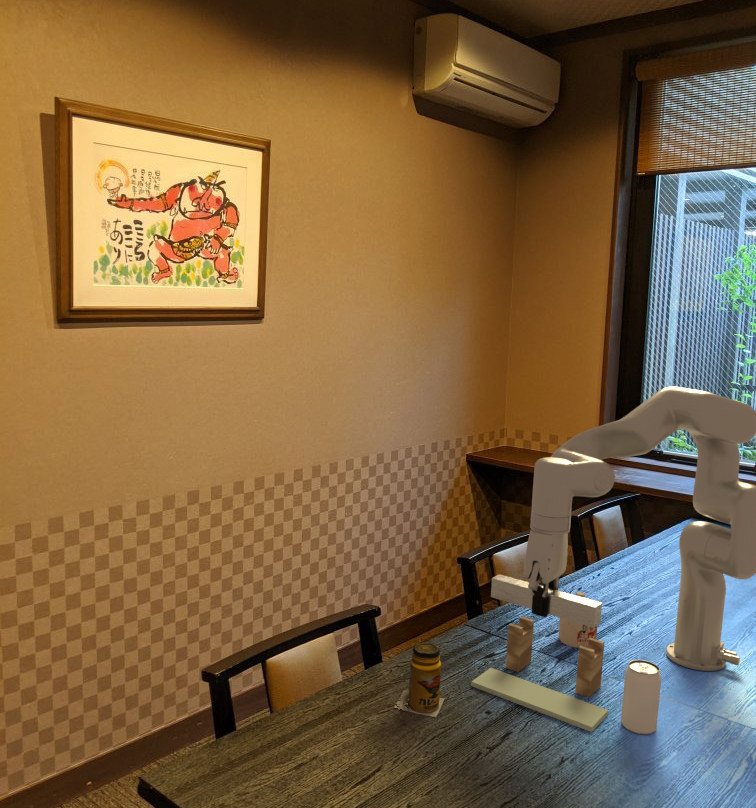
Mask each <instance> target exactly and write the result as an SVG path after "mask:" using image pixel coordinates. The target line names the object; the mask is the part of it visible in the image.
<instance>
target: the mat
mask: <svg viewBox="0 0 756 808" xmlns="http://www.w3.org/2000/svg"><path fill="white" fill-rule="evenodd" d="M470 686H471V687H473V688H475V689H478V690H481V691H483V692H486V693H488V694H491V695H494V696H496V697H499V698H501V699H504V700H506V701H509V702H512V703H514V704H517V705H519V706H522V707H525V708H528V709H530V710H533V711H536V712H538V713H540V714H543V715H545V716H548V717H551V718H554V719H557V720H558V721H562V722H564V723H567V724H570V725H572V726H574V727H578V728H580V729H582V730H585V731H587V732H590V733H593V732H594V730H595V729H596V728H597V727H598V726H599V725H600V724H601V723H602V722H603V721H604V720H605V719H606V718H607V717H608V715H609V709H606V708H603V707H601V706H598V705H596V704H592V703H589V702H587V701H584V700H581V699H578V698H576V697H573V696H570V695H568V694H565V693H562V692H560V691H556V690H553V689H551V688H548V687H545V686H543V685H541V684H537V683H534V682H531V681H530V680H529V681H528V680H525V679H523V678H520V677H518V676H515V675H512V674H510V673H506V672H503V671H500V670H497V669H495V668H493V667H490V668H488V669H486V670H485V671H484V672H483V673H482V674H480V675H478V676H477V677H476V678H474V679H473V680H471V685H470Z"/></svg>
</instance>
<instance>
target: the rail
mask: <svg viewBox="0 0 756 808" xmlns="http://www.w3.org/2000/svg"><path fill="white" fill-rule="evenodd" d="M528 585H529V581H525V580H521V579H518V578H514V577H512V576H507V575H503V574H497V575H495V576H493V577H492V578H491V588H490V589H491V590H490V597H491V598H493V599H497V600H500V601H504V602H507V603H511V604H513V605H517V606H520V607H524V608H527V609H531V610H532V598H533V595H532V590H531V589H529V588H528ZM538 585H539V586H542V588H543V585H541V584H538ZM547 597H549V604H548V615H549V616H553V617H557V618H559V619H560V618H563V619H566V620H570V621H573V622H577V623H580V624H583V625H587V626H590V627H593V628H595V627H596V626H597V627H598V625H600V624H601V621H602V620H601V619H602V608H603V602H601V601H597V600H594V599H591V600H590V598H588V597H587V598H588V599H587V598H583V597H579V596H576V594H572V593H567V592H564V591H561V590H559V589H558V590H554V589H551V588H548V593H547Z"/></svg>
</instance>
